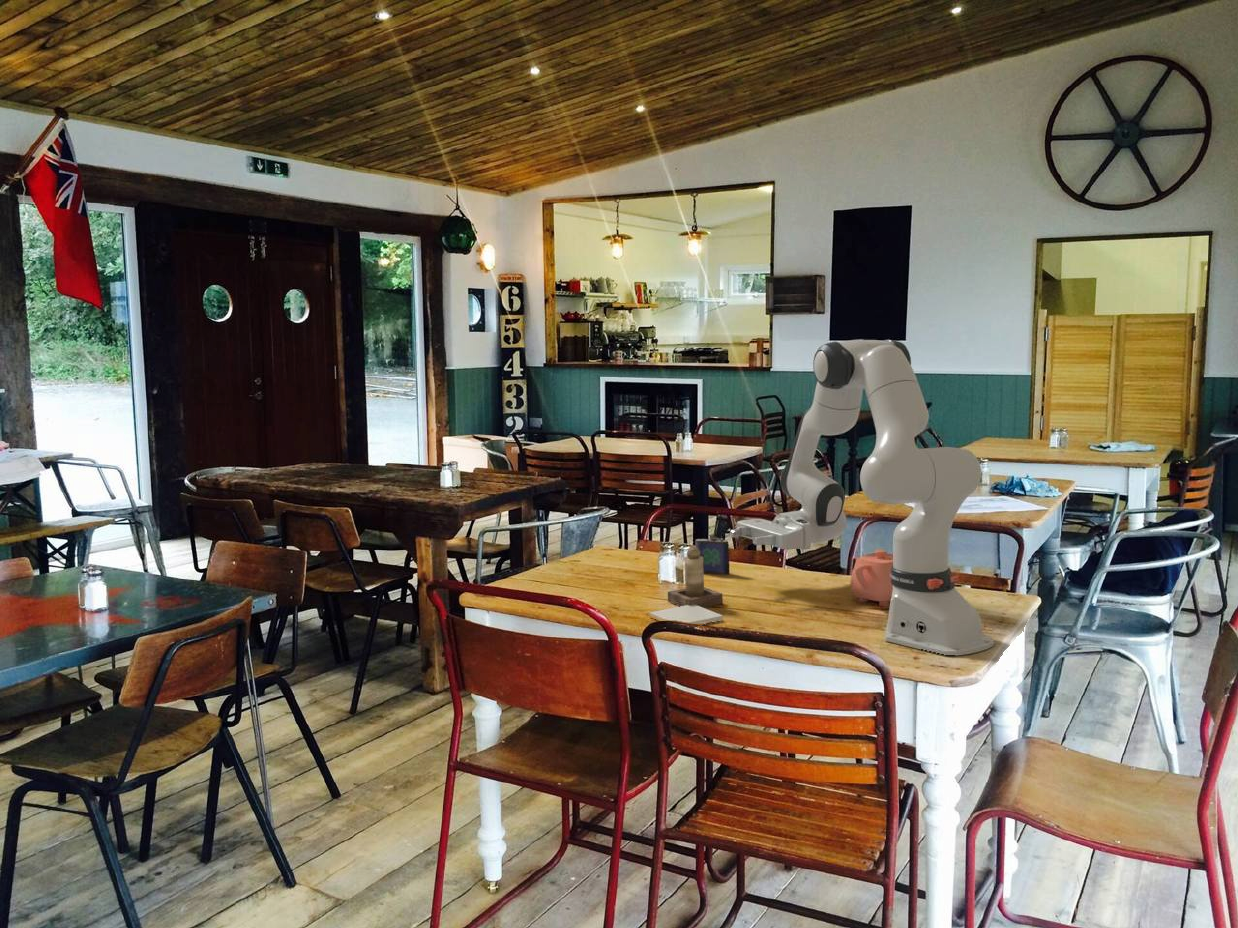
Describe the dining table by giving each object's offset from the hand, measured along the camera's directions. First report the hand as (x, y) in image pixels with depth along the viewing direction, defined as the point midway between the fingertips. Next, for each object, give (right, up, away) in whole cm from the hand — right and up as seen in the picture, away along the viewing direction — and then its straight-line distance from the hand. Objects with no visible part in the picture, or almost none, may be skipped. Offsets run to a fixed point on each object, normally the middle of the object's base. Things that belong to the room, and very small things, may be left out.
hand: (742, 537), depth 250 cm
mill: (-12, -15, -4) cm, 20 cm away
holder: (-12, -15, -4) cm, 20 cm away
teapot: (+32, -14, -7) cm, 36 cm away
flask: (-5, -11, +25) cm, 28 cm away
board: (-15, -17, -17) cm, 28 cm away
